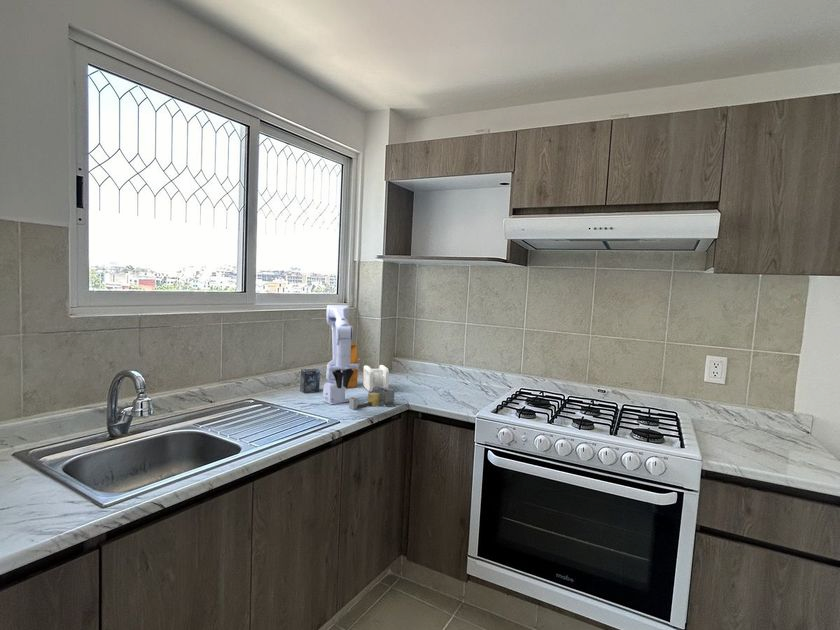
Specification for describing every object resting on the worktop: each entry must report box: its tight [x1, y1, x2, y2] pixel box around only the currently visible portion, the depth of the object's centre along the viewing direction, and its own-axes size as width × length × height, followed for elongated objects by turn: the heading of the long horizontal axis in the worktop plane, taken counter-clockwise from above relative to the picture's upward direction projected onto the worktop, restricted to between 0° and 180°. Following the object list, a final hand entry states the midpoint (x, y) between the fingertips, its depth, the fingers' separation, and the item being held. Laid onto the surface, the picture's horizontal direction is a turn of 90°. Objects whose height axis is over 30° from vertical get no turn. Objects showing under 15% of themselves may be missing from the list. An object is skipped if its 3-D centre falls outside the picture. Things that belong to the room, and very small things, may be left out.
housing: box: [372, 386, 398, 408], centre depth 202 cm, size 5×14×6 cm, turn 44°
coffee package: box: [345, 343, 359, 389], centre depth 230 cm, size 10×12×22 cm
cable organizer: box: [362, 364, 390, 393], centre depth 226 cm, size 15×11×12 cm
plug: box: [348, 392, 381, 411], centre depth 195 cm, size 14×4×5 cm, turn 134°
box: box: [299, 368, 321, 394], centre depth 216 cm, size 8×6×11 cm
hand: (342, 387), depth 186 cm, fingers open, 2 cm apart
